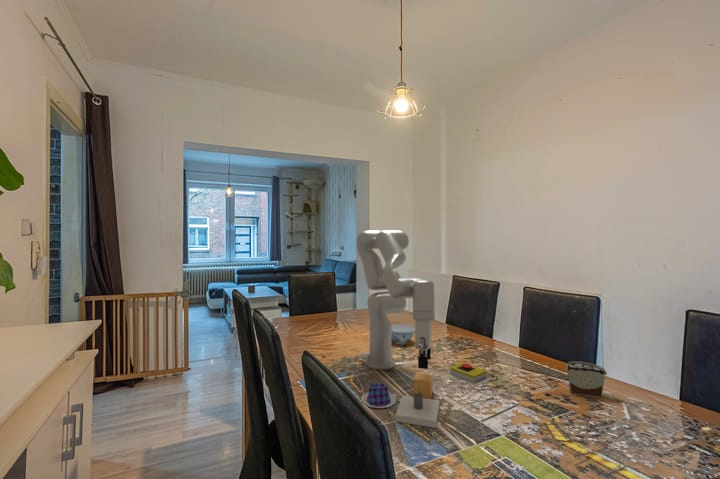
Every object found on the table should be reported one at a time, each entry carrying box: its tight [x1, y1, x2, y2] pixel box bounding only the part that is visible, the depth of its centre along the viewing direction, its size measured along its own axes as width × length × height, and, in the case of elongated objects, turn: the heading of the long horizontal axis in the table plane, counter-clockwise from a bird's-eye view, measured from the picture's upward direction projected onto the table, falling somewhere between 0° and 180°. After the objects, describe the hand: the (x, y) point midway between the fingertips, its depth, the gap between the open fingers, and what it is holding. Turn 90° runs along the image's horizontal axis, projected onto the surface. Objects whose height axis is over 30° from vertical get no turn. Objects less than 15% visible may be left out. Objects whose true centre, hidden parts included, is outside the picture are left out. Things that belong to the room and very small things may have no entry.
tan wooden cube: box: [413, 372, 434, 399], centre depth 116 cm, size 6×6×6 cm
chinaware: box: [391, 324, 415, 345], centre depth 175 cm, size 15×15×8 cm
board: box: [395, 384, 440, 429], centre depth 103 cm, size 12×13×9 cm
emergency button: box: [446, 362, 492, 386], centre depth 132 cm, size 9×4×15 cm
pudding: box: [360, 382, 397, 409], centre depth 112 cm, size 12×12×5 cm
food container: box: [565, 360, 608, 399], centre depth 118 cm, size 12×6×10 cm, turn 71°
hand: (424, 363), depth 116 cm, fingers open, 9 cm apart
